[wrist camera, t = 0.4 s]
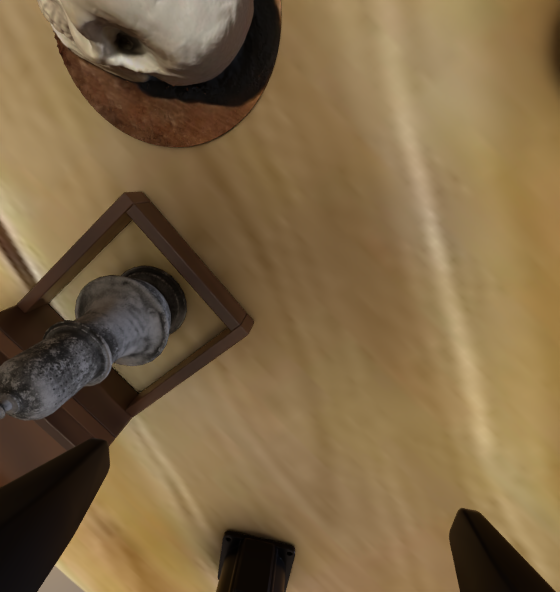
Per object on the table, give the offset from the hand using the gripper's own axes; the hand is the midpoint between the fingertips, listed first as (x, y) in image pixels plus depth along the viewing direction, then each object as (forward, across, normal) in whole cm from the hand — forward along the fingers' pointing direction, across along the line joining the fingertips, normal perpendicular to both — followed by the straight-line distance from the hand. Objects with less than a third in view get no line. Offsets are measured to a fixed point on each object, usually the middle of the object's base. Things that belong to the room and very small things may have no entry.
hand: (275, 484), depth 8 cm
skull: (+14, +9, -14) cm, 22 cm away
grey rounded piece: (+14, +10, +2) cm, 18 cm away
